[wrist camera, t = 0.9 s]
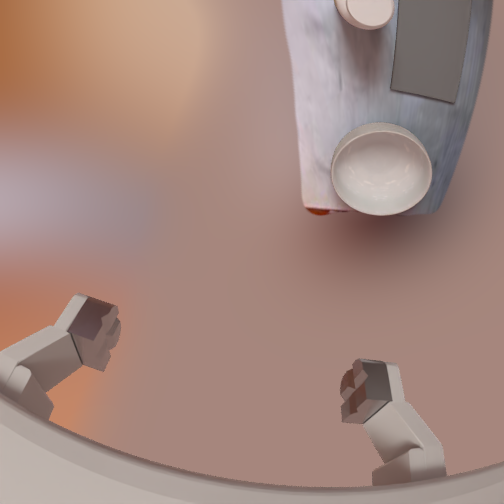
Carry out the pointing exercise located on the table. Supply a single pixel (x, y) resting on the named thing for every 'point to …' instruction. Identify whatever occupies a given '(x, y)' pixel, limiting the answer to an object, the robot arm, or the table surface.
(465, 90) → the table surface
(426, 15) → the mat
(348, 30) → the table surface
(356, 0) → the supplement bottle
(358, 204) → the cereal bowl
